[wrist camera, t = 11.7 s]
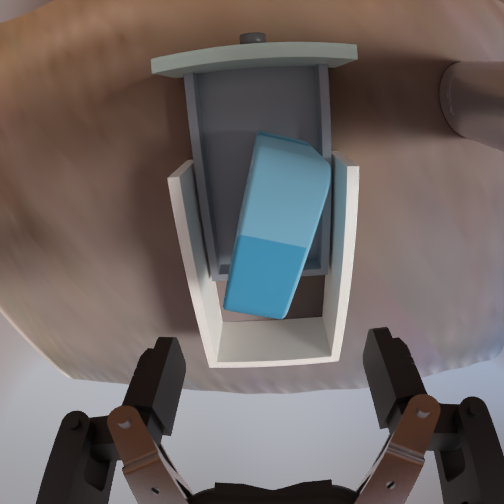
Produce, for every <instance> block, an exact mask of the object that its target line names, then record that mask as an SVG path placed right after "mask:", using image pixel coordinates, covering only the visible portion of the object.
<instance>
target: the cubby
mask: <svg viewBox="0 0 504 504" xmlns="http://www.w3.org/2000/svg"><path fill="white" fill-rule="evenodd" d="M167 180H168V186H169V191H170V197H171V203H172V208H173V214H174V219H175V224H176V229H177V234H178V239H179V244H180V249H181V254H182V258H183V263H184V267H185V272H186V276H187V281H188V285H189V289H190V294H191V298H192V302H193V306H194V310H195V314H196V318H197V322H198V326H199V330H200V334H201V338H202V341H203V345H204V349H205V353H206V356H207V360H208V363H209V367H210V368H230V367H268V366H287V365H302V364H314V363H325V362H335V361H339V357H340V352H341V346H342V340H343V334H344V328H345V322H346V315H347V308H348V301H349V293H350V286H351V277H352V268H353V259H354V248H355V237H356V224H357V209H358V190H359V166H358V165H357V164H356V163H354V162H353V161H351V160H350V159H349V158H347V157H346V156H345V155H343V154H342V153H340V152H339V151H331V225H330V249H329V267H328V275H325V287H324V301H323V313H322V317H312V318H298V319H282V320H263V321H239V322H223V321H222V316H221V310H220V305H219V299H218V294H217V288H216V282H215V281H212V277H211V271H210V265H209V260H208V254H207V248H206V242H205V236H204V229H203V223H202V217H201V210H200V204H199V197H198V190H197V183H196V176H195V169H194V161H193V159H192V160H187V161H186V162H184V163H183V164H182V165H181V166H180V167H179V168H178V169H177V170H175V171H174V172H173V173H172V174H171V175H170V176H169V177H168V178H167Z"/></svg>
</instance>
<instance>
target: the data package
mask: <svg viewBox="0 0 504 504" xmlns="http://www.w3.org/2000/svg"><path fill="white" fill-rule="evenodd" d="M330 177H331V170H330V165H329V163H328V162H327V161H326V160H325V159H324V158H323V157H322V156H321V155H320V154H319V153H318V152H317V151H316V150H315V149H314V148H313V147H311V146H310V145H309V144H308V143H307V142H306V141H303V140H299V139H295V138H291V137H286V136H282V135H278V134H273V133H269V132H264V131H258V132H257V135H256V139H255V144H254V148H253V153H252V157H251V162H250V167H249V171H248V176H247V181H246V185H245V190H244V195H243V200H242V204H241V209H240V214H239V219H238V224H237V228H236V233H235V239H234V244H233V249H232V255H231V261H230V267H229V273H228V279H227V285H226V291H225V298H224V304H223V307H224V309H225V310H229V311H234V312H240V313H245V314H251V315H257V316H263V317H269V318H275V319H283V318H284V317H285V316H286V314H287V312H288V310H289V307H290V304H291V302H292V299H293V296H294V293H295V290H296V288H297V285H298V282H299V279H300V276H301V273H302V270H303V268H304V265H305V262H306V259H307V256H308V253H309V250H310V247H311V244H312V241H313V238H314V235H315V232H316V229H317V225H318V222H319V219H320V216H321V213H322V210H323V207H324V203H325V200H326V197H327V194H328V190H329V185H330Z"/></svg>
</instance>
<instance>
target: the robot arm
mask: <svg viewBox="0 0 504 504" xmlns="http://www.w3.org/2000/svg"><path fill="white" fill-rule="evenodd" d="M439 95H440V103H441V107H442V111H443V114H444V116H445V118H446V120H447V122H448V123H449V125H450V126H451V127H452V129H453V130H454V131H455V132H457V133H458V134H459V135H461V136H463V137H465V138H468V139H471V140H474V141H477V142H480V143H482V144H485V145H488V146H490V147H493V148H496V149H498V150H501V151H504V62H497V61H484V62H483V61H476V62H458V63H454V64H453V65H451V66H449V67H448V69H447V70H446V71H445V72H444V74H443V76H442V79H441V83H440V92H439ZM363 365H364V369H365V373H366V376H367V380H368V383H369V387H370V391H371V395H372V398H373V402H374V406H375V410H376V414H377V418H378V422H379V426H380V429H383V428H389V432H390V434H389V436H388V438H387V440H386V442H385V444H384V445H383V447H382V449H381V451H380V453H379V454H378V456H377V458H376V460H375V461H374V463H373V465H372V467H371V468H370V470H369V471H368V473H367V474H366V476H365V477H364V479H363V480H362V482H361V483H360V485H359V486H358V488H357V489H356V491H353V490H351V489H349V488H346V487H343V486H338V485H332V480H331V479H330V480H322V481H312V482H303V483H299V484H296V485H292V486H289V487H285V488H281V489H277V490H268V489H263V488H259V487H254V486H249V485H246V484H233V483H216V482H215V488H211V489H207V490H203V491H201V492H198V493H196V494H194V493H193V492H192V491H191V489H190V488H189V486H188V485H187V484H186V482H185V481H184V480H183V478H182V477H181V475H180V474H179V472H178V471H177V469H176V468H175V466H174V464H173V463H172V461H171V459H170V458H169V456H168V454H167V453H166V451H165V449H164V447H163V446H162V444H161V439H162V435H168V436H171V433H172V429H173V425H174V420H175V416H176V411H177V407H178V403H179V398H180V394H181V390H182V386H183V382H184V377H185V373H186V363H185V359H184V356H183V353H182V351H181V348H180V345H179V342H178V339H177V338H176V337H159V338H158V339H157V341H156V344H155V347H154V349H152V348H148V349H147V350H146V351H145V352H144V353H143V354H142V355H141V357H140V359H139V361H138V364H137V368H136V369H135V372H134V376H133V377H132V380H131V382H130V385H129V388H128V390H127V393H126V396H125V398H124V401H123V404H122V405H121V406H119V407H117V408H115V409H114V410H113V411H111V413H110V414H109V415H108V416H101V417H93V418H89V417H88V416H87V415H86V414H85V413H84V412H82V411H72V412H70V413H68V414H67V415H66V416H65V417H64V418H63V420H62V422H61V425H60V428H59V431H58V433H57V436H56V439H55V442H54V445H53V448H52V451H51V454H50V457H49V460H48V463H47V466H46V469H45V473H44V476H43V479H42V483H41V486H40V490H39V494H38V498H37V501H36V504H108V501H109V496H110V491H111V486H112V481H113V476H114V471H115V467H116V462H117V460H122V462H123V464H124V467H123V468H122V471H123V474H124V476H125V478H126V480H127V482H128V484H129V487H130V489H131V491H132V493H133V495H134V496H135V498H136V500H137V502H138V504H404V503H405V502H406V500H407V498H408V496H409V494H410V492H411V490H412V488H413V486H414V484H415V482H416V480H417V478H418V476H419V474H420V472H421V469H422V467H423V465H424V462H425V459H424V454H425V452H426V451H427V450H429V451H434V454H435V459H436V463H437V468H438V473H439V479H440V484H441V490H442V495H443V502H444V504H504V456H503V452H502V449H501V446H500V443H499V440H498V436H497V433H496V431H495V428H494V425H493V422H492V419H491V417H490V414H489V411H488V409H487V406H486V404H485V403H484V401H482V400H481V399H480V398H477V397H467V398H465V399H464V400H463V401H462V402H461V404H458V405H457V404H441V403H438V401H437V400H436V399H435V398H434V397H432V396H430V395H428V394H427V392H426V390H425V388H424V385H423V383H422V380H421V377H420V375H419V372H418V370H417V368H416V365H414V360H413V358H412V357H411V354H410V351H409V349H408V347H407V345H406V344H405V343H404V342H403V341H402V340H401V339H400V338H392V336H391V333H390V331H389V329H388V328H387V327H382V328H374V329H370V330H369V332H368V336H367V340H366V344H365V348H364V352H363Z"/></svg>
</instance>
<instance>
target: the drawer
mask: <svg viewBox="0 0 504 504" xmlns="http://www.w3.org/2000/svg"><path fill="white" fill-rule="evenodd" d="M357 59H358V55H357V45H354V44H342V43H325V42H270V43H266V36H265V34H264V33H246V34H242V35H240V45H230V46H221V47H213V48H206V49H200V50H193V51H187V52H182V53H177V54H172V55H167V56H162V57H158V58H153V59H151V68H152V74H157V75H162V76H167V77H172V78H182V77H184V85H185V94H186V104H187V113H188V121H189V130H190V138H191V146H192V154H193V161H194V169H195V176H196V183H197V190H198V197H199V204H200V210H201V217H202V223H203V229H204V236H205V242H206V248H207V254H208V260H209V265H210V271H211V277H212V281H227V279H228V273H229V267H230V261H231V255H232V249H233V244H234V239H235V233H236V228H237V224H238V219H239V214H240V209H241V204H242V200H243V195H244V190H245V185H246V181H247V176H248V171H249V167H250V162H251V157H252V153H253V148H254V144H255V139H256V135H257V132H258V131H264V132H269V133H273V134H278V135H282V136H286V137H291V138H295V139H299V140H303V141H306V142H307V143H308V144H309V145H310V146H311V147H313V148H314V149H315V150H316V151H317V152H318V153H319V154H320V155H321V156H322V157H323V158H324V159H325V160H326V161H327V162H328V163H329V165H330V170H331V117H330V95H329V78H328V68H336V67H339V66H341V65H344V64H347V63H349V62H352V61H355V60H357ZM330 225H331V177H330V185H329V190H328V194H327V197H326V200H325V203H324V207H323V210H322V213H321V216H320V219H319V222H318V225H317V229H316V232H315V235H314V238H313V241H312V244H311V247H310V250H309V253H308V256H307V259H306V262H305V265H304V268H303V270H302V273H301V276H300V277H302V276H317V275H328V267H329V249H330Z"/></svg>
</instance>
